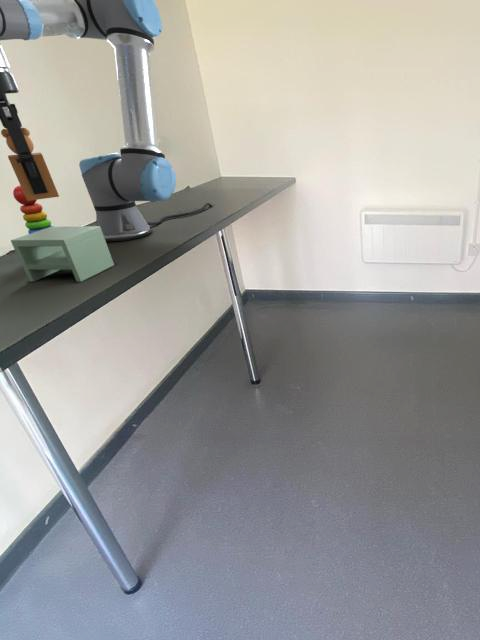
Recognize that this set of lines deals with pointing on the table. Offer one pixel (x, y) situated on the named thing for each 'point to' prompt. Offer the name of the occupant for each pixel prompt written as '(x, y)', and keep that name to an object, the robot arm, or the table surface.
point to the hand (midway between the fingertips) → (40, 191)
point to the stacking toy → (31, 212)
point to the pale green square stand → (63, 252)
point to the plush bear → (21, 173)
